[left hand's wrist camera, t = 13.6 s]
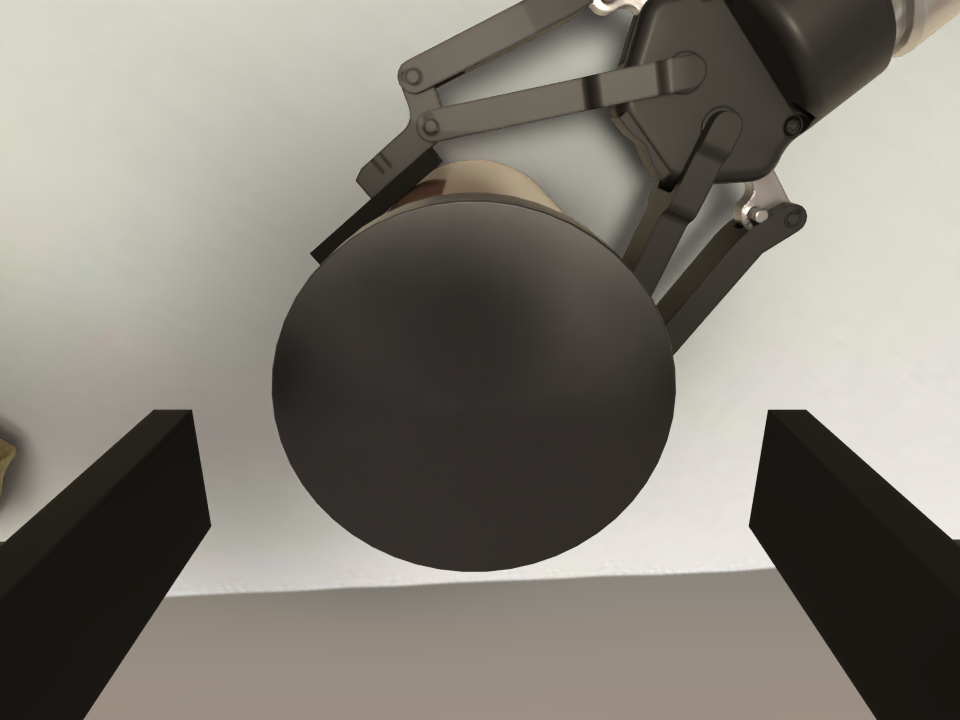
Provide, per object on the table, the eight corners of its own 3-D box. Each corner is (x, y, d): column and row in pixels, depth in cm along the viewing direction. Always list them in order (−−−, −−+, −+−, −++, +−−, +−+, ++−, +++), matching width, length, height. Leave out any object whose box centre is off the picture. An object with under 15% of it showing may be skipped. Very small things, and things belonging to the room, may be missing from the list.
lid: (377, 119, 16) (365, 118, 14) (729, 298, 17) (757, 317, 15) (239, 454, 19) (216, 486, 17) (548, 581, 20) (555, 621, 19)
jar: (431, 126, 33) (375, 135, 14) (596, 211, 34) (734, 317, 16) (358, 292, 36) (235, 474, 17) (513, 363, 37) (549, 600, 19)
